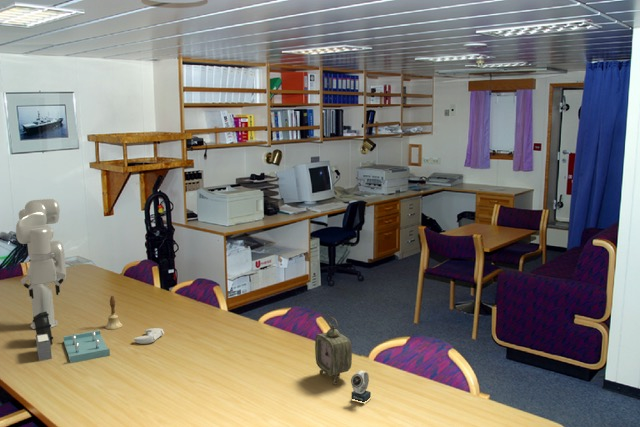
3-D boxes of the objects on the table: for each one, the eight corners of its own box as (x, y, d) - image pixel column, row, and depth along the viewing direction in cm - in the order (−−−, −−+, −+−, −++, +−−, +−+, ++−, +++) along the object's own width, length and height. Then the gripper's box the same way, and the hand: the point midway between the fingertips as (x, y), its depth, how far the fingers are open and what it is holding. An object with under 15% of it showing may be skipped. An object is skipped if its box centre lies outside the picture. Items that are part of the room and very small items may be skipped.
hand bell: (122, 322, 292) (120, 292, 289) (122, 328, 284) (120, 297, 281) (105, 324, 289) (103, 294, 287) (104, 330, 281) (102, 299, 279)
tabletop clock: (315, 373, 233) (314, 314, 229) (334, 368, 238) (334, 310, 234) (333, 387, 221) (333, 325, 217) (353, 382, 225) (353, 321, 221)
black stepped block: (47, 345, 259) (39, 313, 261) (38, 349, 268) (30, 318, 271) (56, 342, 262) (47, 310, 264) (46, 347, 271) (39, 316, 273)
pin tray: (63, 342, 266) (62, 331, 265) (100, 336, 274) (99, 325, 273) (70, 363, 244) (69, 351, 243) (109, 355, 252) (109, 344, 251)
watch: (348, 402, 209) (348, 374, 208) (360, 393, 216) (360, 366, 214) (361, 406, 206) (361, 378, 204) (373, 398, 213) (373, 370, 211)
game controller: (146, 327, 278) (165, 324, 275) (149, 335, 278) (167, 332, 276) (131, 338, 264) (150, 335, 261) (133, 347, 264) (153, 344, 262)
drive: (37, 351, 256) (35, 334, 255) (49, 349, 259) (47, 332, 258) (39, 361, 246) (37, 343, 245) (51, 359, 249) (50, 341, 247)
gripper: (62, 253, 250) (65, 291, 253) (18, 258, 242) (21, 297, 244) (64, 256, 244) (67, 295, 246) (19, 261, 235) (22, 301, 238)
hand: (45, 296), depth 245 cm, fingers open, 9 cm apart
